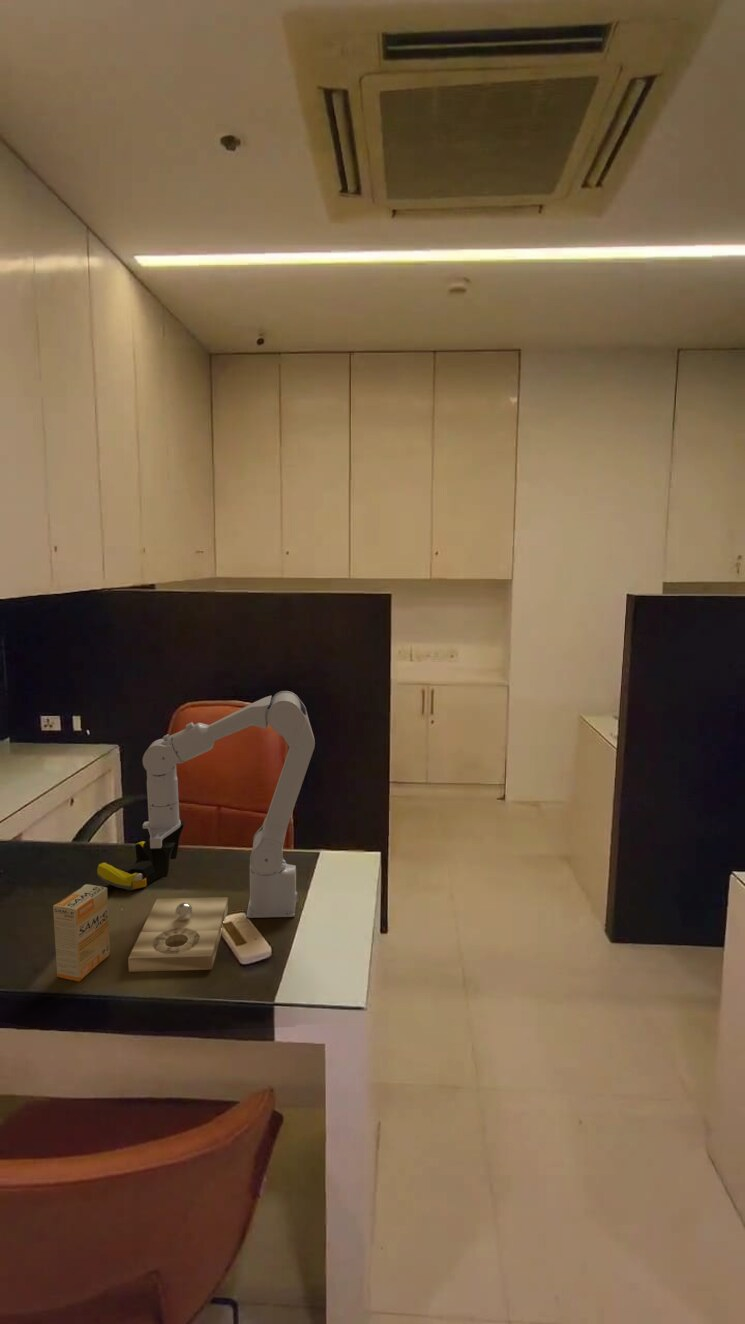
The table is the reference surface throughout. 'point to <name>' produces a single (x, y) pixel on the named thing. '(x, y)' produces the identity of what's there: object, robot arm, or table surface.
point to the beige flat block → (179, 936)
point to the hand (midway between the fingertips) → (166, 867)
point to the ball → (184, 911)
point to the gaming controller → (129, 872)
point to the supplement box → (81, 932)
